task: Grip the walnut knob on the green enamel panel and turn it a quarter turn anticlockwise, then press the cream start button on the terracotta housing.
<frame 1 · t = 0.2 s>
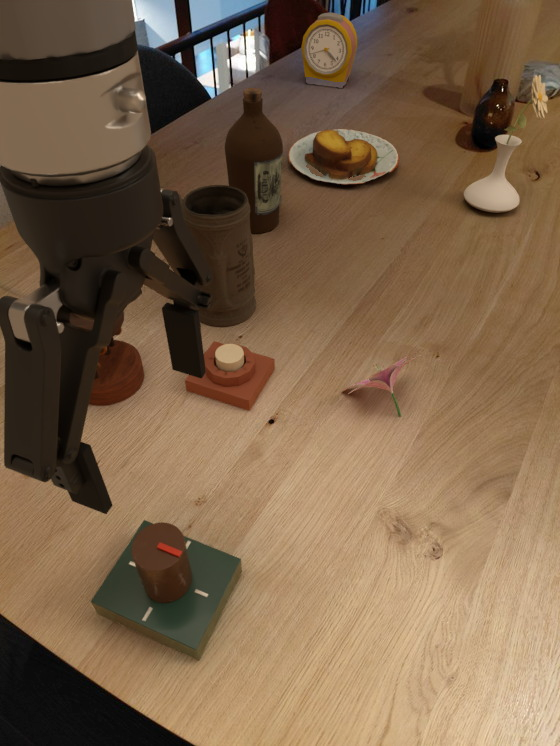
hand: (146, 430, 43), 26 cm above the table, tool pointing down, fingers open, 13 cm apart
alarm clock: (326, 83, 173), on the table
lily: (379, 399, 81), on the table
button: (229, 357, 80), point 4 cm above the table, slide at 0.1 cm
food on plate: (342, 164, 134), on the table
beer stein: (211, 304, 96), on the table
knob: (163, 562, 56), point 7 cm above the table, hinge at 0.0°
panel: (171, 592, 61), on the table
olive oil: (255, 222, 115), on the table
button block: (231, 379, 83), on the table
music box: (107, 384, 82), on the table
flower in vase: (491, 204, 121), on the table
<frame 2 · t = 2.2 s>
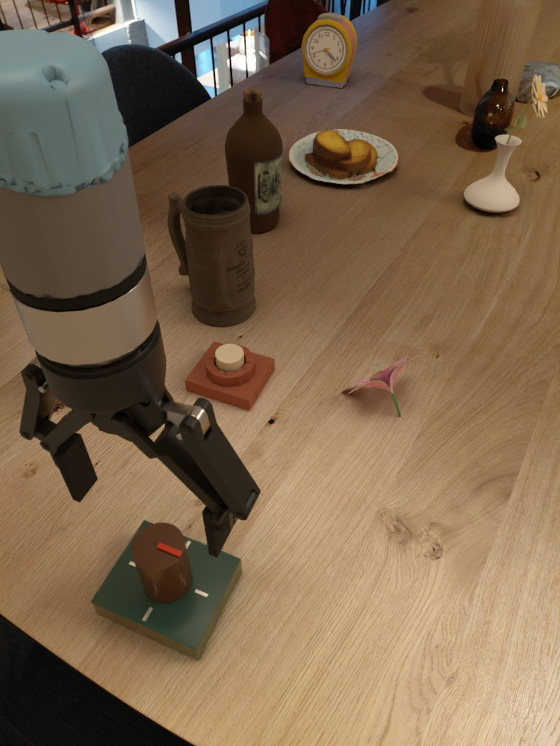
hand: (150, 515, 50), 16 cm above the table, tool pointing down, fingers open, 13 cm apart
nothing on the table moved.
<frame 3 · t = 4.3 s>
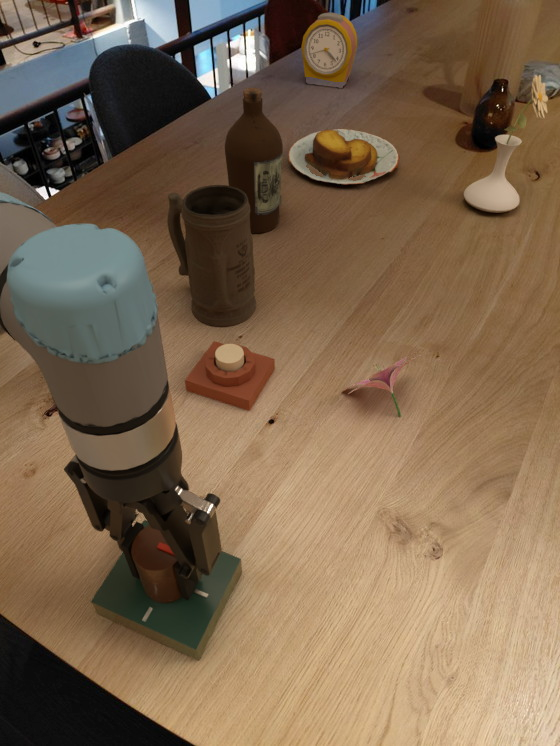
hand: (166, 576, 58), 4 cm above the table, tool pointing down, fingers closed on knob, 5 cm apart
knob: (163, 562, 56), point 7 cm above the table, hinge at 0.0°, touching gripper
everything else where it was.
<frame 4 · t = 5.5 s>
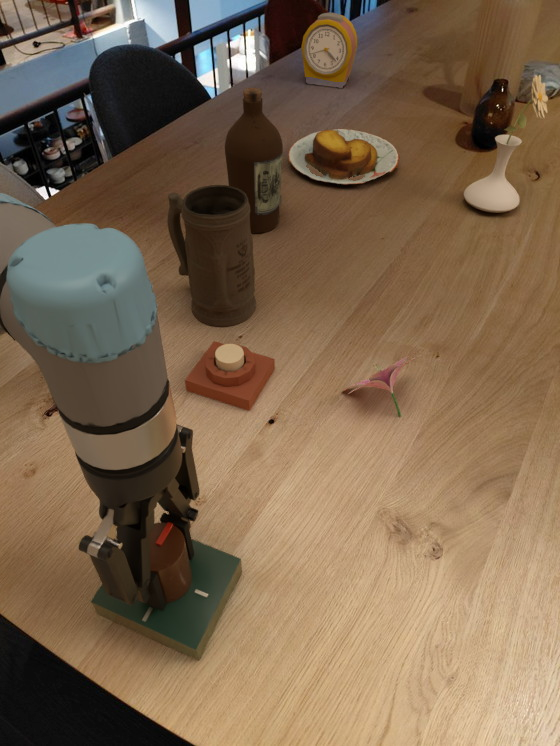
hand: (167, 576, 58), 4 cm above the table, tool pointing down, fingers closed on knob, 5 cm apart
knob: (163, 562, 56), point 7 cm above the table, hinge at 91.1°, touching gripper
everything else where it was.
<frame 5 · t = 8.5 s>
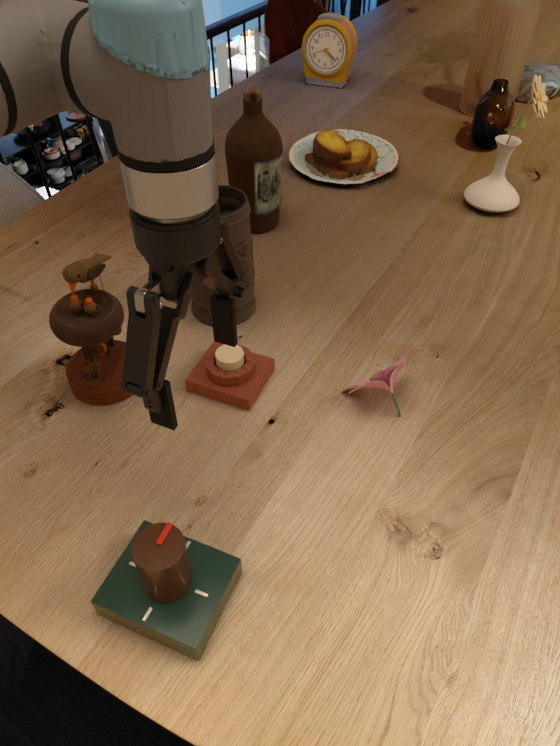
hand: (197, 380, 62), 15 cm above the table, tool pointing down, fingers open, 13 cm apart
knob: (163, 562, 56), point 7 cm above the table, hinge at 91.0°
everything else where it was.
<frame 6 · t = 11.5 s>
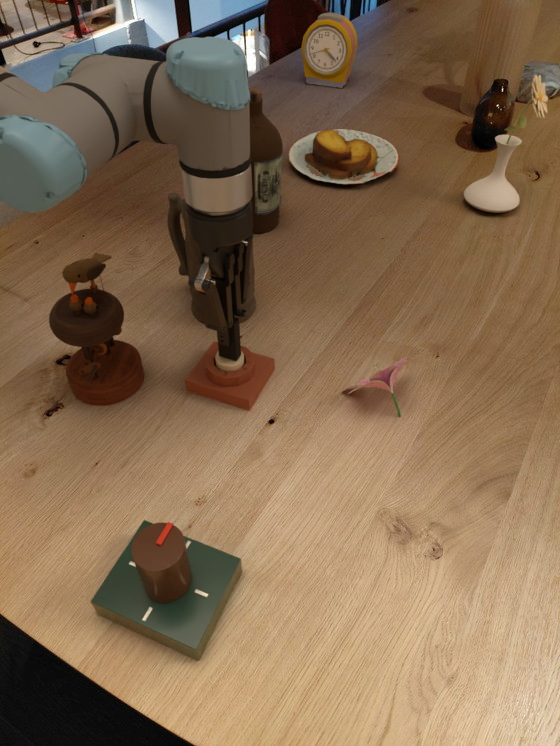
hand: (230, 355, 80), 5 cm above the table, tool pointing down, fingers closed
button: (229, 360, 80), point 4 cm above the table, slide at -0.5 cm, touching gripper
everything else where it was.
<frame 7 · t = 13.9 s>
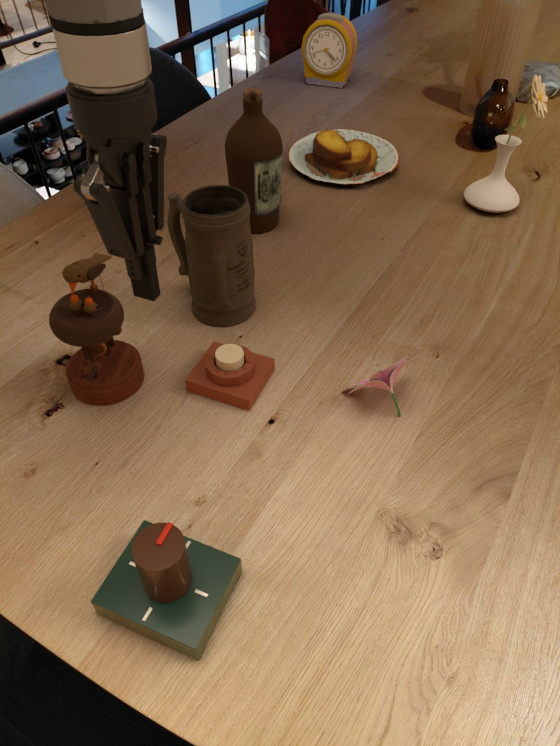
hand: (147, 294, 66), 19 cm above the table, tool pointing down, fingers closed
button: (229, 357, 80), point 4 cm above the table, slide at 0.1 cm
everything else where it was.
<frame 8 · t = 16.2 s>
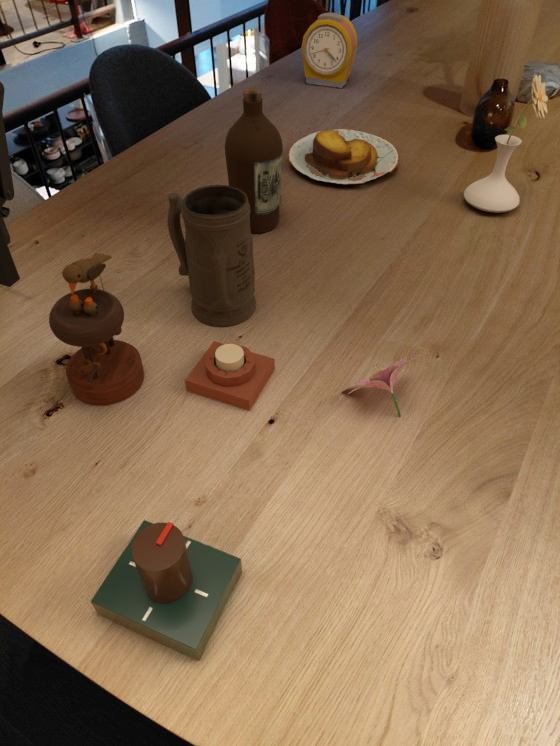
hand: (4, 279, 56), 26 cm above the table, tool pointing down, fingers closed
nothing on the table moved.
at the end: knob at +91° (first picture: +0°); button pushed in 1.0 cm at the most during the clip, back to where it started at the end; button slide at 0.1 cm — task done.
